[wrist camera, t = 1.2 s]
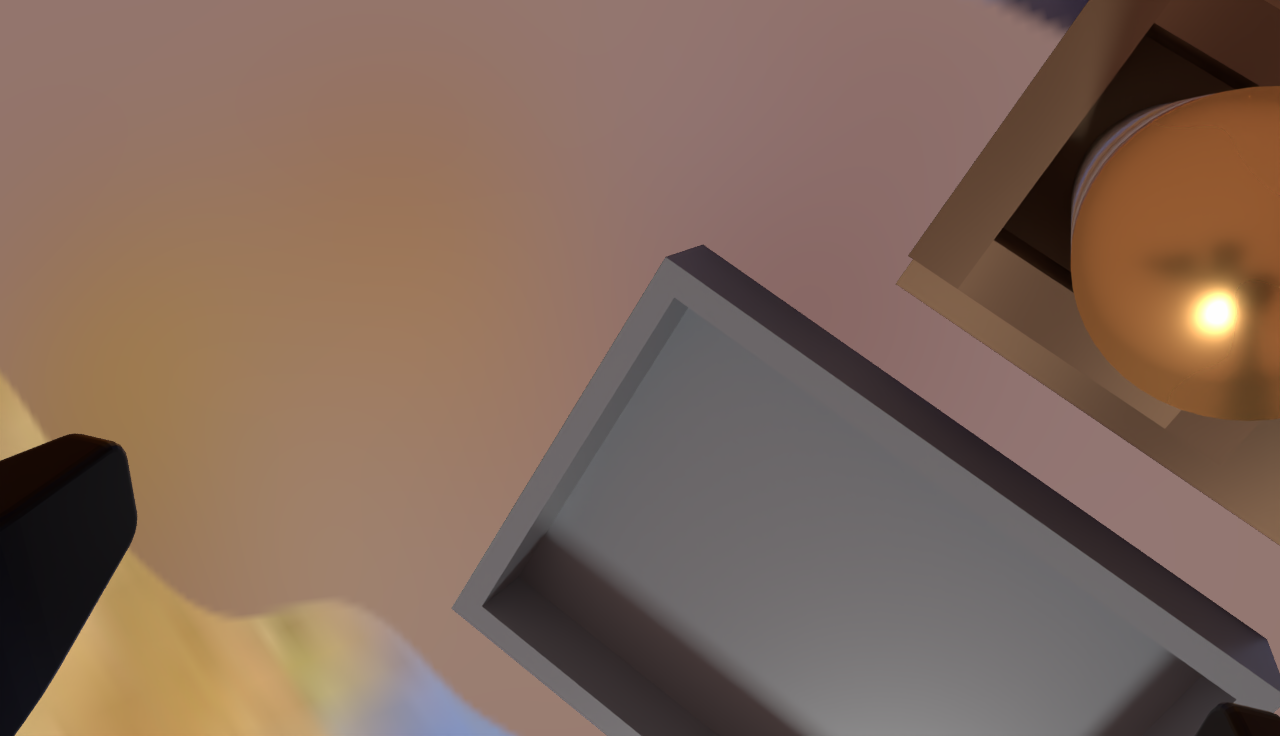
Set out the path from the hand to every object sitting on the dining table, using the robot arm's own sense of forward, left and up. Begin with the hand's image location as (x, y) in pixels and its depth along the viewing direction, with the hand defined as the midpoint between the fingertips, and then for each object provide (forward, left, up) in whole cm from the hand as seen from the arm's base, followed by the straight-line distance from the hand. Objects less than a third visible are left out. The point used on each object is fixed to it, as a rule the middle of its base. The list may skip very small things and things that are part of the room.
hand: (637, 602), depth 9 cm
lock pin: (-3, -5, -14) cm, 15 cm away
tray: (-3, +7, -16) cm, 17 cm away
